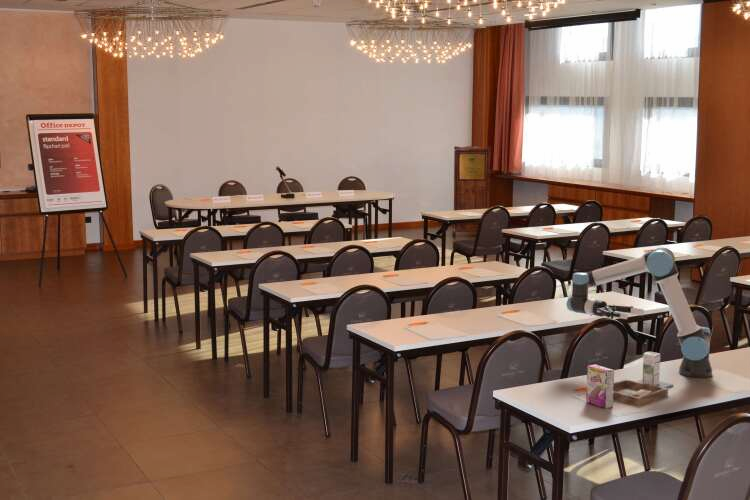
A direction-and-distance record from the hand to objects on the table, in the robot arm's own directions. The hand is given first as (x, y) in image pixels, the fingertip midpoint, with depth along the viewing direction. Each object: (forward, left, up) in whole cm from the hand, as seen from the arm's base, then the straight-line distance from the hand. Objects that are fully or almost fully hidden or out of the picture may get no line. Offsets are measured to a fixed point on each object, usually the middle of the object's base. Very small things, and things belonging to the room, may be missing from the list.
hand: (635, 314), depth 422 cm
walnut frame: (+4, +24, -32) cm, 40 cm away
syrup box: (-7, +6, -31) cm, 33 cm away
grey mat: (-7, +6, -32) cm, 33 cm away
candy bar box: (+19, +40, -32) cm, 55 cm away
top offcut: (0, +28, -31) cm, 41 cm away
